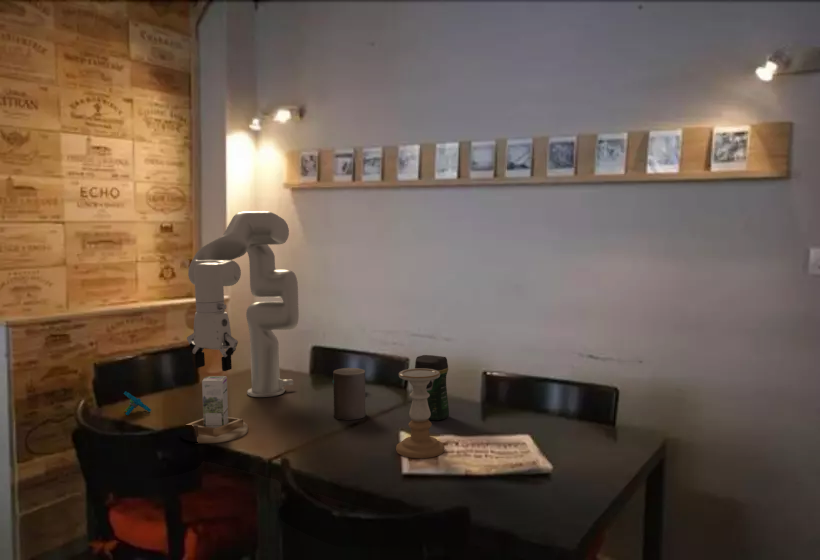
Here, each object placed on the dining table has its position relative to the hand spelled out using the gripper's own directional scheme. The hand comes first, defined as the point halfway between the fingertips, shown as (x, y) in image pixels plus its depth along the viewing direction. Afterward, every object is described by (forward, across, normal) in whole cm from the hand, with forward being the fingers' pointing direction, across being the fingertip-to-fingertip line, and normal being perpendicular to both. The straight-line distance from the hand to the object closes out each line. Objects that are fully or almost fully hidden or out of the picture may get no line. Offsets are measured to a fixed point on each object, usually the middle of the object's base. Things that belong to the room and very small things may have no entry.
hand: (213, 368), depth 192 cm
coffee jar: (+19, -49, -38) cm, 65 cm away
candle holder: (+18, -59, -9) cm, 63 cm away
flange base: (+18, 0, +1) cm, 18 cm away
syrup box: (+17, -1, +1) cm, 17 cm away
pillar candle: (+19, -26, -29) cm, 43 cm away
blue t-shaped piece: (+19, +36, -5) cm, 41 cm away
